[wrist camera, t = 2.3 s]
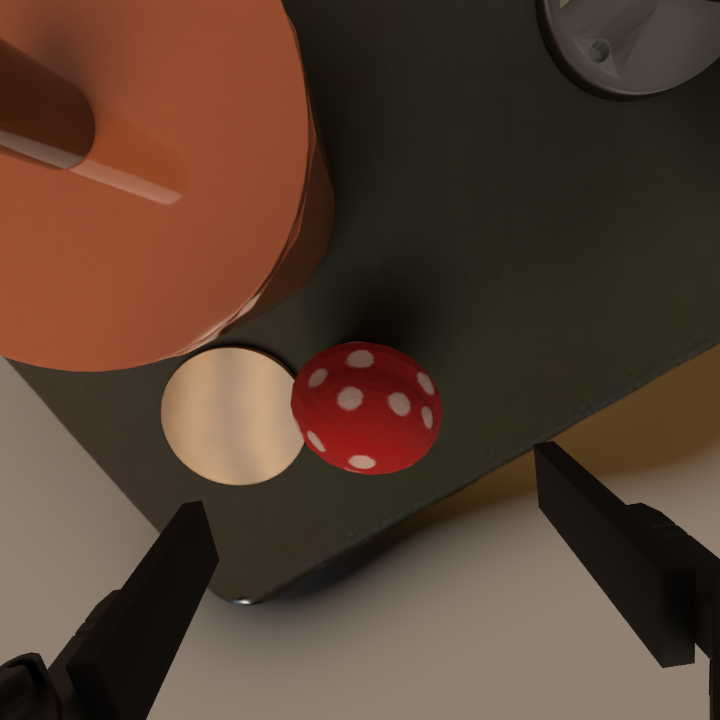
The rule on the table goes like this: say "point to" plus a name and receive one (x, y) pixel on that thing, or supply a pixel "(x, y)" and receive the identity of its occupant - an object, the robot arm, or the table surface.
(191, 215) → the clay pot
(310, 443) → the decorative mushroom
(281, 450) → the round golden metal disc
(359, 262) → the table surface
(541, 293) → the table surface
